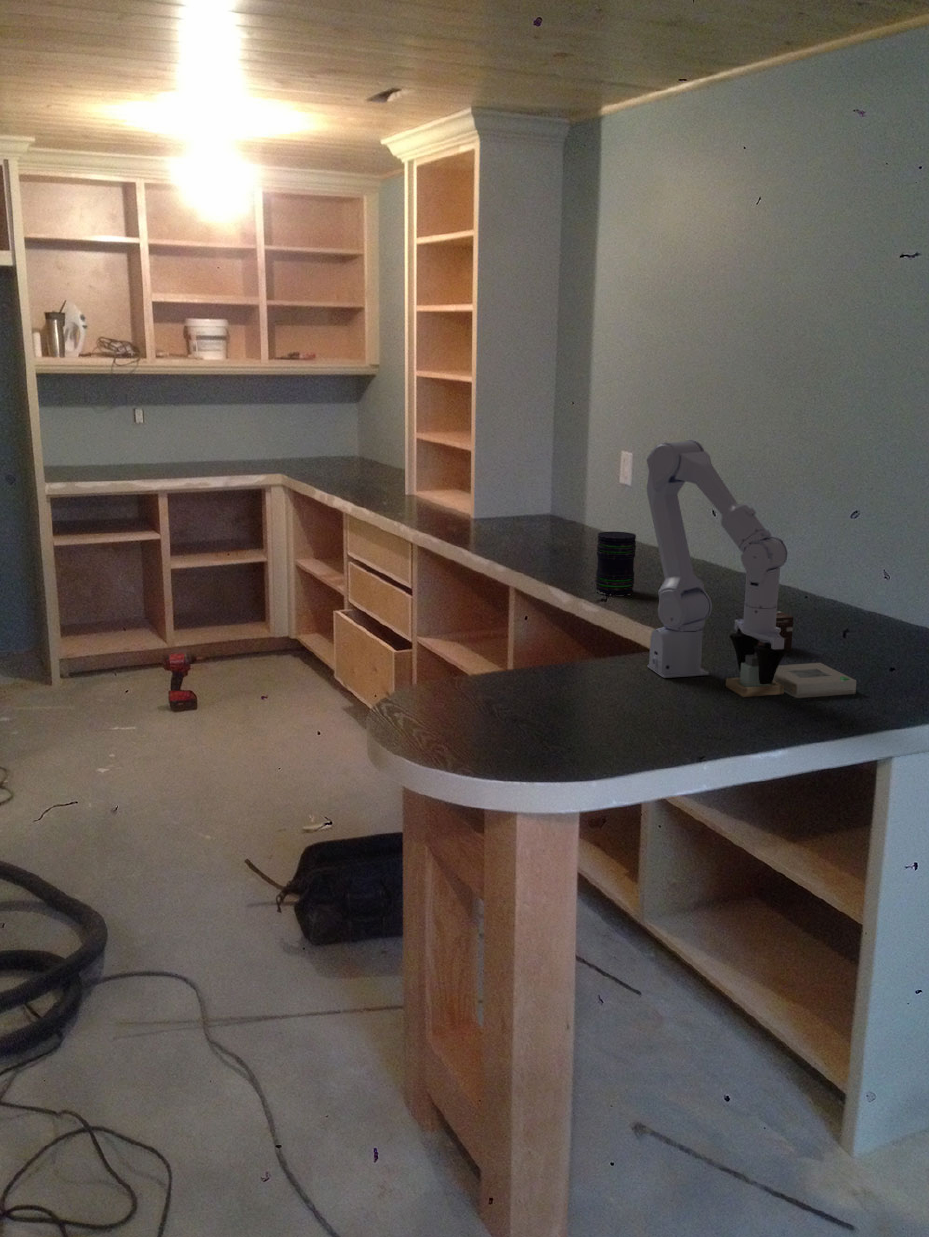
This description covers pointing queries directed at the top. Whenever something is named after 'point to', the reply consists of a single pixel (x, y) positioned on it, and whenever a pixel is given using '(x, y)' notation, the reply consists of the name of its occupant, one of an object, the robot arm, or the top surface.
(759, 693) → the tan square frame
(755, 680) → the plug
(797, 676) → the port
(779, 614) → the box
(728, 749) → the top surface
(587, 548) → the top surface
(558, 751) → the top surface
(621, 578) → the storage jar
